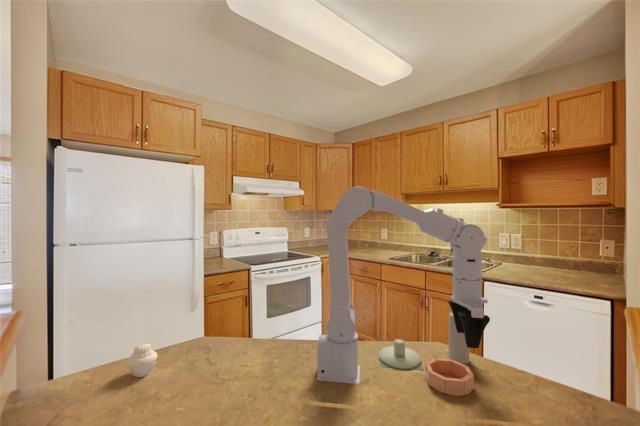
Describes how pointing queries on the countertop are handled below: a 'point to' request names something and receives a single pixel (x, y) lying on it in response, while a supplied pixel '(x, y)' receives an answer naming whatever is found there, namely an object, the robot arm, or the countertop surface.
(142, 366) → the muffin
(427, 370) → the bowl
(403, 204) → the robot arm
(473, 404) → the countertop surface
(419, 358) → the lid
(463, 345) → the beverage can
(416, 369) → the mat
